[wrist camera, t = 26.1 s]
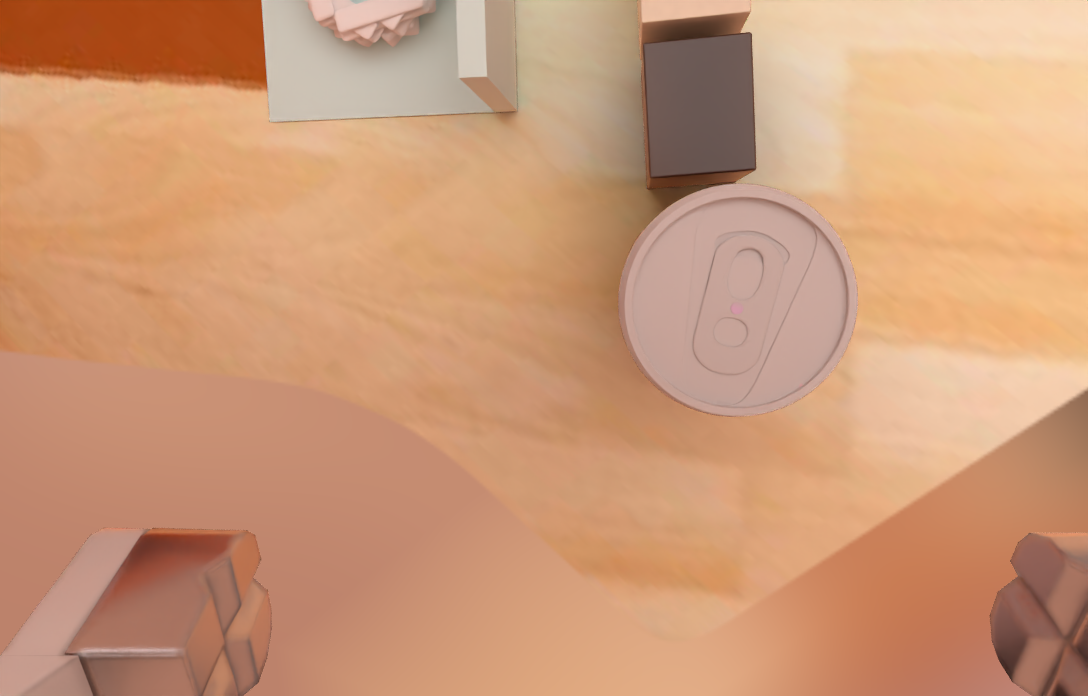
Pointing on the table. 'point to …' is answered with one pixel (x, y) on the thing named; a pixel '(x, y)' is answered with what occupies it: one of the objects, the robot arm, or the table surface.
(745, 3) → the light tan block
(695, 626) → the table surface
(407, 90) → the l-shaped corner panel
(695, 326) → the beverage can
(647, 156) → the walnut block
